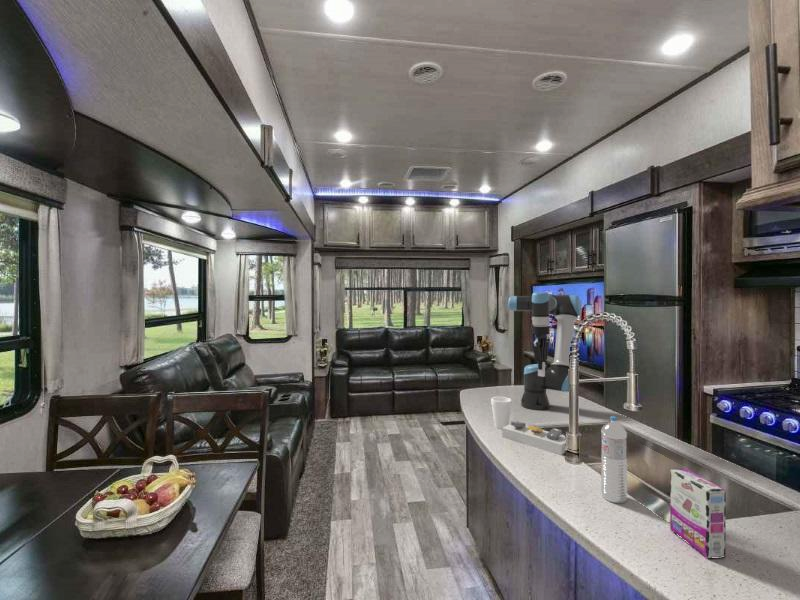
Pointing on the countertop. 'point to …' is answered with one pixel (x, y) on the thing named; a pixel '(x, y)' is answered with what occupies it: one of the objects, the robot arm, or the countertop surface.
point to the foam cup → (501, 411)
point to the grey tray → (536, 439)
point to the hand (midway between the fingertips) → (541, 376)
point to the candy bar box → (698, 512)
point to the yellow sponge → (535, 428)
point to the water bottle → (614, 462)
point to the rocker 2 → (554, 433)
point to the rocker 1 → (518, 424)
